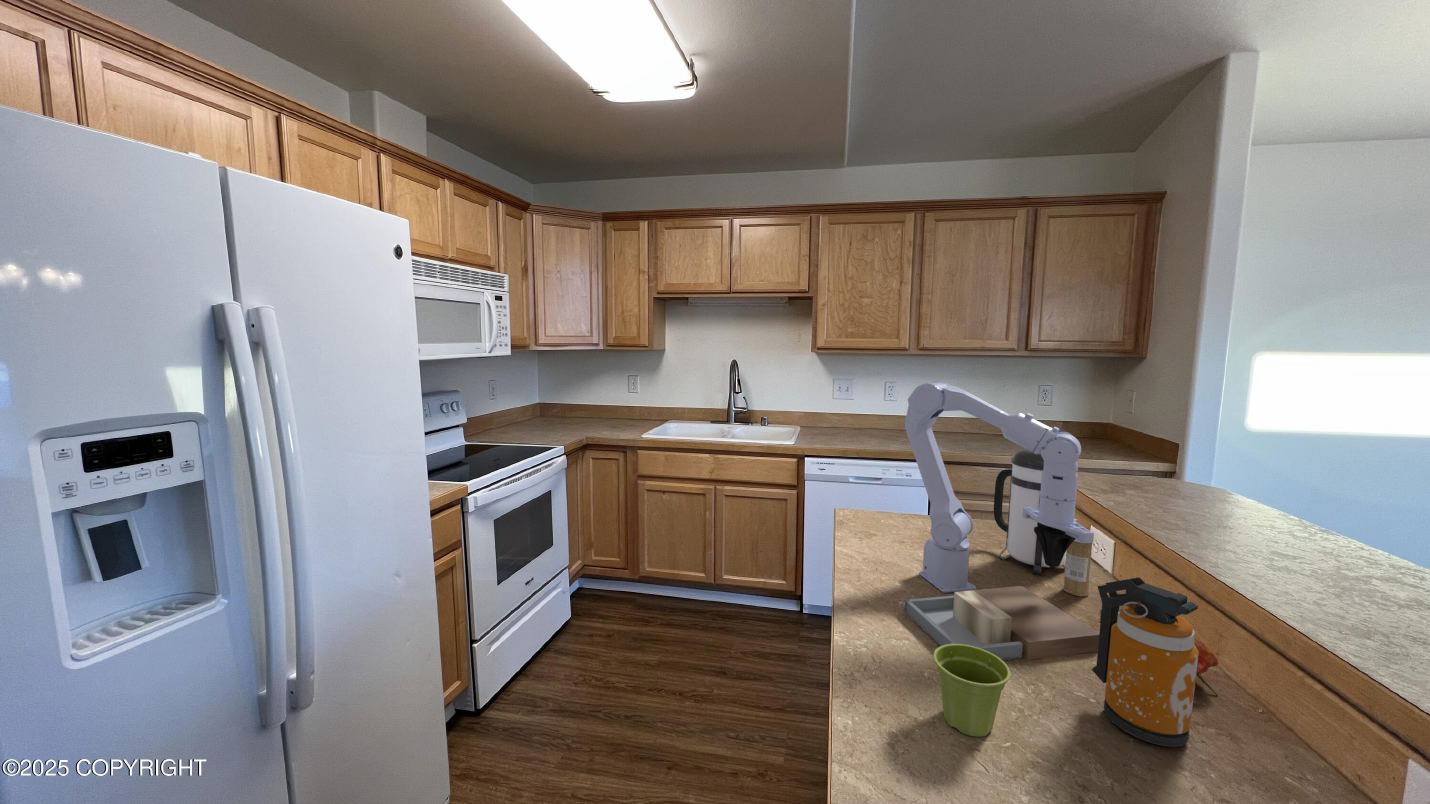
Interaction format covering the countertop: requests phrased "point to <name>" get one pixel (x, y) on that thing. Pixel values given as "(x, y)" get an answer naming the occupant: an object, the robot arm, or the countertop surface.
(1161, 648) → the canister
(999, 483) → the coffee press
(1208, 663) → the pomegranate
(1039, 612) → the walnut plate
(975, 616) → the cream rectangular box
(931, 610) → the box
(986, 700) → the plant pot
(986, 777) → the countertop surface
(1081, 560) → the sprinkles bottle
